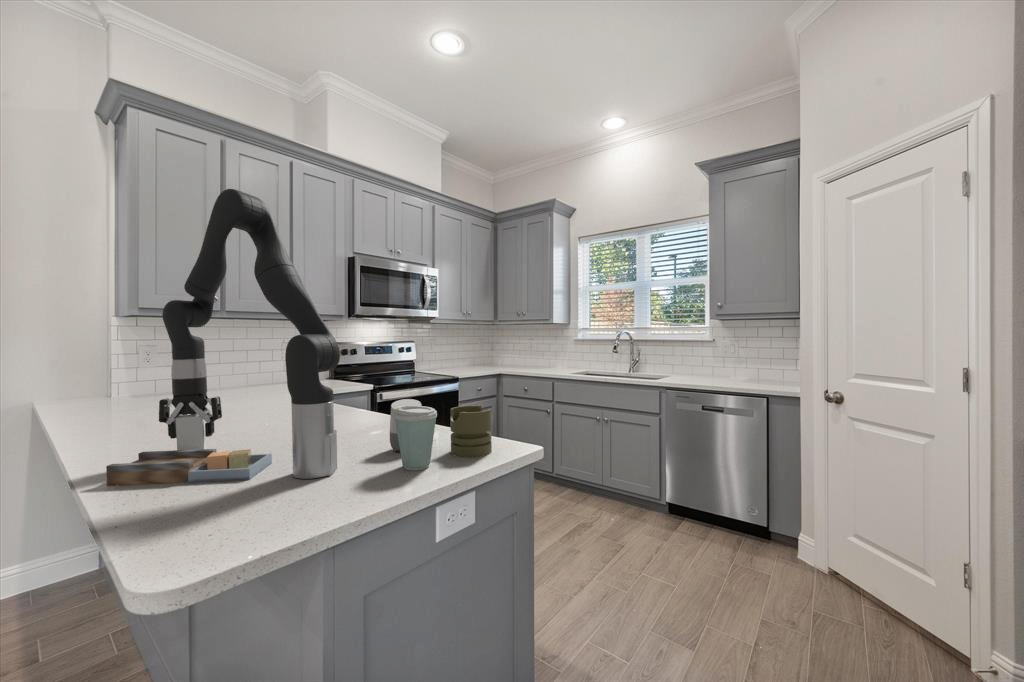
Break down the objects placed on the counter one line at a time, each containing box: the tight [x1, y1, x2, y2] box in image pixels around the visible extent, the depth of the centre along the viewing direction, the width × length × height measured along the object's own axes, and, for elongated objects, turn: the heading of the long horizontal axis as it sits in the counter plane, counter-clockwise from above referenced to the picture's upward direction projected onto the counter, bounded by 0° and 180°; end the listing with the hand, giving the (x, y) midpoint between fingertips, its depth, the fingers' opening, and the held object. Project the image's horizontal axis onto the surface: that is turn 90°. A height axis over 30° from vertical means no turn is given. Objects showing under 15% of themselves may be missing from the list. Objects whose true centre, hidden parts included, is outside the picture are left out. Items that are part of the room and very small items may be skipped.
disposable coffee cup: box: [394, 405, 438, 471], centre depth 113 cm, size 11×11×15 cm
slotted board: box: [105, 448, 217, 487], centre depth 108 cm, size 17×12×4 cm
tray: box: [187, 453, 273, 484], centre depth 110 cm, size 13×13×2 cm
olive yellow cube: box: [229, 448, 252, 469], centre depth 111 cm, size 4×4×4 cm
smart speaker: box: [389, 398, 423, 453], centre depth 129 cm, size 10×9×14 cm
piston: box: [449, 405, 493, 459], centre depth 126 cm, size 11×12×11 cm
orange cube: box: [207, 450, 232, 470], centre depth 110 cm, size 4×4×4 cm
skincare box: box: [175, 414, 208, 450], centre depth 121 cm, size 6×4×12 cm
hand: (191, 437), depth 121 cm, fingers open, 8 cm apart
